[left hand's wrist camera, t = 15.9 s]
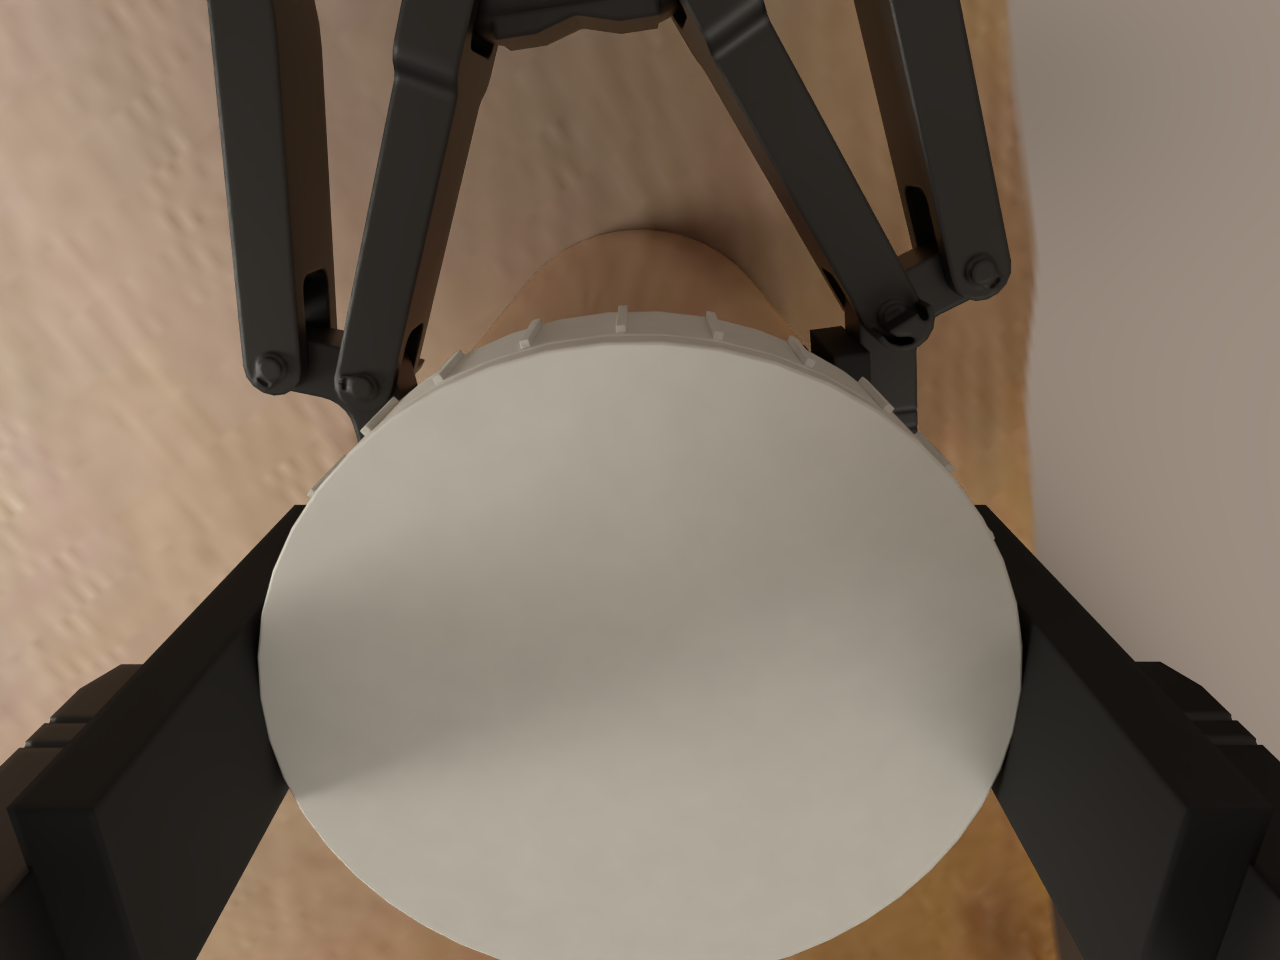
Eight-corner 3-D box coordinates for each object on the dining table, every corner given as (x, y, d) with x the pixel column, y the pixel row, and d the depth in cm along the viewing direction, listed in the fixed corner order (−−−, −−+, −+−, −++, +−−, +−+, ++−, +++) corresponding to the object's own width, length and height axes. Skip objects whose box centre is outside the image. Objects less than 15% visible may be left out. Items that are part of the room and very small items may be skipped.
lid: (160, 563, 12) (84, 632, 10) (745, 141, 10) (768, 141, 8) (570, 968, 15) (561, 1071, 13) (1085, 709, 13) (1151, 793, 11)
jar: (775, 210, 24) (985, 314, 9) (793, 495, 27) (967, 899, 12) (469, 249, 24) (217, 407, 10) (522, 525, 27) (391, 950, 13)
